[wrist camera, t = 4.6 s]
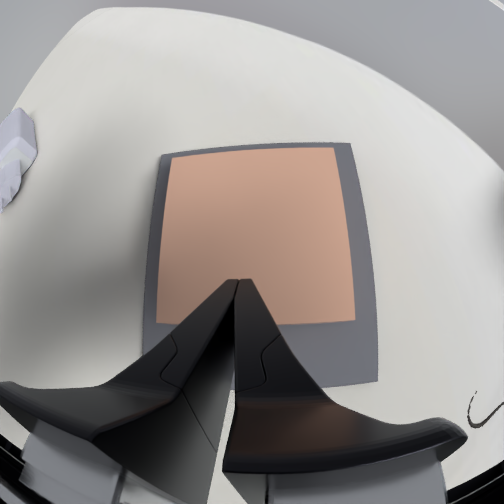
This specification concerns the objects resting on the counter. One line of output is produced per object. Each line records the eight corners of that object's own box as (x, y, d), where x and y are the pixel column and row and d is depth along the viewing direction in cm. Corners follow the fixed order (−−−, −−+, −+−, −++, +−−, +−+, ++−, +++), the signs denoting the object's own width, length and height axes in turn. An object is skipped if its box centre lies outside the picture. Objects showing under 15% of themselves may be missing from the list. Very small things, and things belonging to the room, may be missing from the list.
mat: (374, 379, 14) (377, 381, 13) (147, 380, 15) (143, 381, 15) (348, 147, 19) (350, 143, 18) (164, 159, 20) (161, 154, 19)
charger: (0, 242, 20) (-4, 168, 25) (46, 185, 21) (36, 123, 26) (-29, 228, 16) (-23, 153, 20) (18, 163, 17) (18, 104, 21)
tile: (355, 319, 12) (333, 147, 15) (156, 322, 13) (172, 158, 16) (344, 321, 15) (328, 168, 18) (172, 324, 16) (183, 176, 18)
